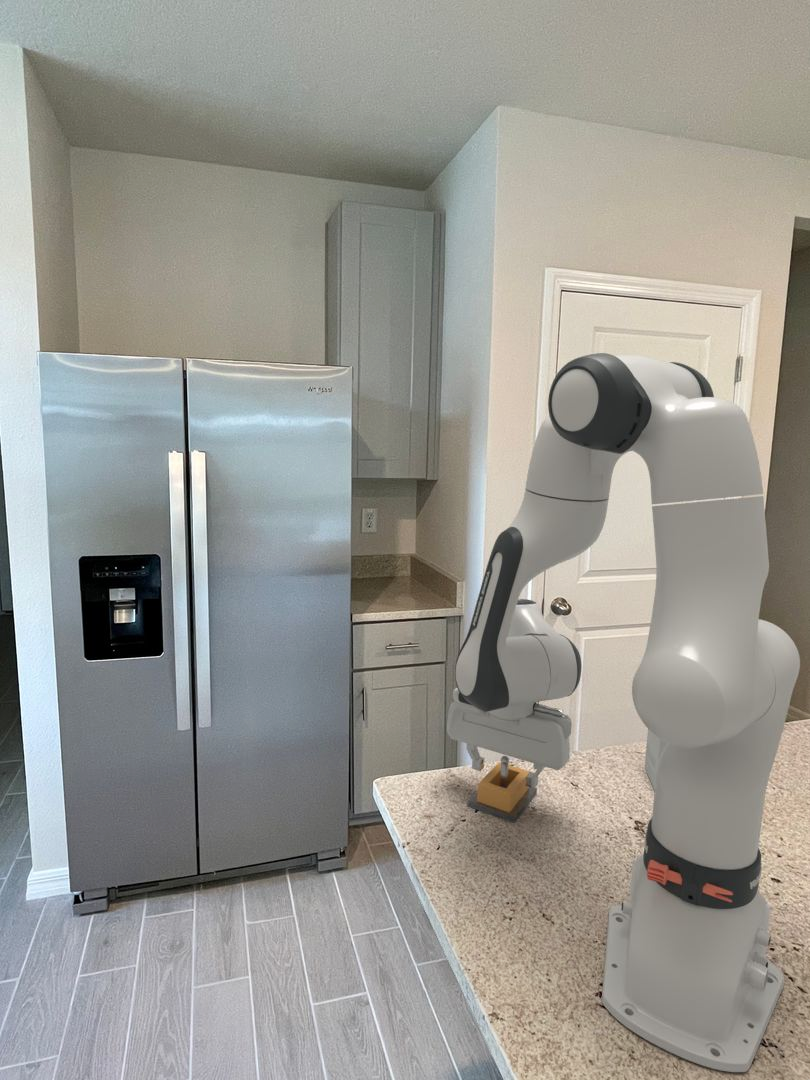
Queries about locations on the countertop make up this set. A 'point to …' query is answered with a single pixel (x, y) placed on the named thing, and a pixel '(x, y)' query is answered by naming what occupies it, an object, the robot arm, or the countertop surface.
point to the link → (498, 795)
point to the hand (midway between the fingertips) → (504, 777)
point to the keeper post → (521, 803)
